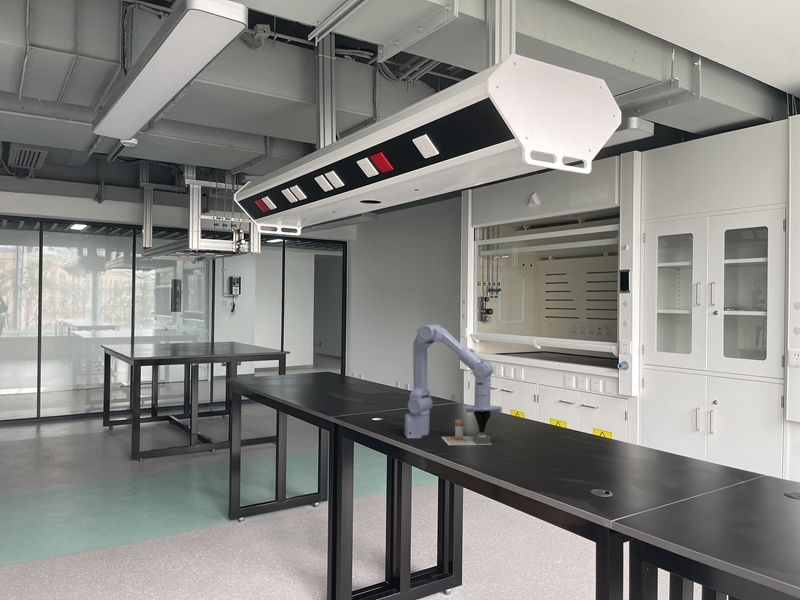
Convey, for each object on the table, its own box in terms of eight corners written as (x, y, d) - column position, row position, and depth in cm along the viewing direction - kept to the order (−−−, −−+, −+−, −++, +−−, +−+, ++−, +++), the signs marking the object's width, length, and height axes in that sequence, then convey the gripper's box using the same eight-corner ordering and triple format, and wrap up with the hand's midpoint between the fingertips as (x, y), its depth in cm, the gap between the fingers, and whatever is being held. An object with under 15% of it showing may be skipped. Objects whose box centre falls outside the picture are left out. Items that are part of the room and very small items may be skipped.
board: (448, 447, 205) (448, 444, 205) (440, 439, 218) (440, 436, 218) (491, 447, 208) (491, 444, 208) (481, 439, 220) (481, 436, 220)
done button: (478, 441, 208) (478, 436, 208) (475, 439, 212) (475, 434, 212) (487, 441, 209) (487, 436, 209) (484, 439, 212) (484, 434, 212)
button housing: (476, 444, 207) (476, 437, 207) (473, 441, 212) (473, 434, 212) (490, 444, 208) (490, 437, 208) (486, 440, 213) (486, 434, 213)
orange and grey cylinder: (455, 439, 213) (456, 421, 213) (453, 437, 216) (454, 419, 216) (464, 439, 214) (464, 420, 214) (462, 437, 217) (462, 419, 217)
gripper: (466, 396, 205) (465, 434, 205) (505, 396, 208) (504, 434, 207) (461, 393, 212) (460, 430, 212) (498, 393, 214) (498, 429, 214)
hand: (481, 431), depth 210 cm, fingers closed
